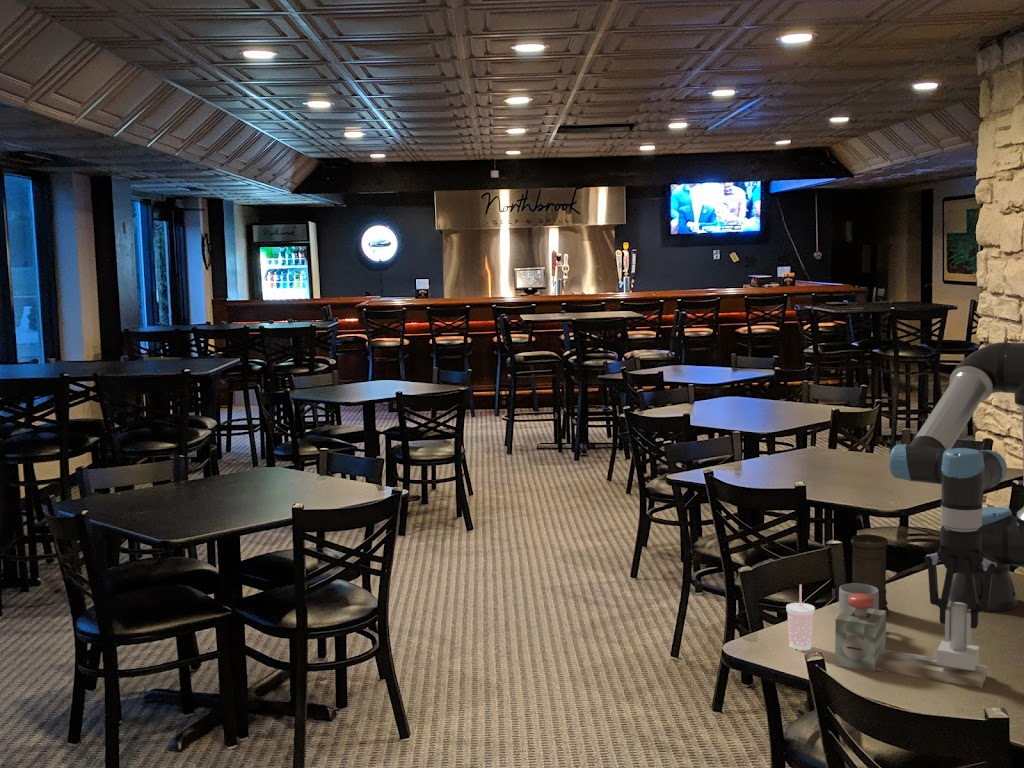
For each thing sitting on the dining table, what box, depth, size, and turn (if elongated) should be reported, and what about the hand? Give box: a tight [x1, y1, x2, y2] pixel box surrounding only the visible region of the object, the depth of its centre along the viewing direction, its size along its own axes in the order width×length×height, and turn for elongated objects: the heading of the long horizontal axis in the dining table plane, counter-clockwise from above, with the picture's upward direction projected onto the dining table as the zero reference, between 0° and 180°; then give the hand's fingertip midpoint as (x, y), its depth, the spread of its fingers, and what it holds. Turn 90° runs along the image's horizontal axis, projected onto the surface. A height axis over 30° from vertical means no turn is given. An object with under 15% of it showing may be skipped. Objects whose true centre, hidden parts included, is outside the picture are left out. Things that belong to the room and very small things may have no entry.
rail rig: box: [834, 605, 988, 689], centre depth 212 cm, size 28×11×10 cm, turn 58°
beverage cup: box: [785, 583, 816, 651], centre depth 226 cm, size 6×6×14 cm
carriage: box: [936, 602, 980, 671], centre depth 207 cm, size 7×6×12 cm
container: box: [850, 534, 889, 615], centre depth 247 cm, size 9×9×18 cm
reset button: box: [848, 593, 874, 619], centre depth 216 cm, size 5×5×6 cm
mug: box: [838, 582, 879, 615], centre depth 233 cm, size 12×8×11 cm
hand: (958, 641), depth 207 cm, fingers closed on carriage, 3 cm apart
